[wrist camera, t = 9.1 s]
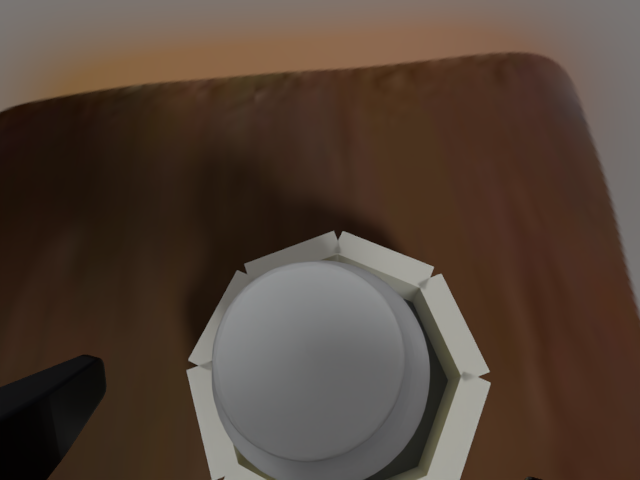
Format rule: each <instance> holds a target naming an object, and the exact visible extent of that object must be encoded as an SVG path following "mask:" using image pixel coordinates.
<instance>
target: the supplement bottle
mask: <svg viewBox="0 0 640 480" xmlns="http://www.w3.org/2000/svg"><path fill="white" fill-rule="evenodd" d="M429 382H430V363H429V355H428V350H427V346H426V342H425V338H424V335H423V332H422V330H421V327H420V325H419V323H418V321H417V319H416V317H415V316H414V314H413V312H412V311H411V309H410V308H409V306H408V305H407V303H406V302H405V301H404V299H403V298H402V297H401V296H400V295H399V294H398V293H397V292H396V291H395V290H394V289H393V288H392V287H391V286H390V285H389V284H387V283H386V282H385V281H383V280H382V279H380V278H379V277H377V276H376V275H374V274H372V273H370V272H369V271H367V270H364V269H362V268H359V267H356V266H354V265H350V264H346V263H342V262H337V261H327V260H316V261H304V262H296V263H291V264H287V265H282V266H279V267H277V268H274V269H272V270H270V271H268V272H266V273H264V274H262V275H261V276H259V277H257V278H256V279H254V280H253V281H252V282H251V283H249V284H248V285H247V286H246V287H244V288H243V289H242V290H241V292H240V293H239V294H238V295H237V296H236V297H235V299H234V300H233V301H232V303H231V304H230V305H229V306H228V308H227V310H226V312H225V313H224V315H223V317H222V320H221V322H220V324H219V327H218V329H217V332H216V336H215V339H214V344H213V350H212V391H213V397H214V402H215V405H216V409H217V412H218V415H219V418H220V421H221V423H222V425H223V427H224V429H225V431H226V433H227V435H228V436H229V438H230V439H231V441H232V442H233V444H234V445H235V447H236V448H237V449H238V450H239V452H240V453H241V454H242V455H243V456H244V457H245V458H246V459H247V460H248V461H249V462H251V463H252V464H253V465H254V466H255V467H256V468H258V469H259V470H260V471H262V472H264V473H265V474H267V475H269V476H271V477H273V478H275V479H277V480H364V479H366V478H368V477H370V476H372V475H373V474H375V473H377V472H378V471H380V470H381V469H383V468H384V467H385V466H387V465H388V464H389V463H390V462H391V461H392V460H393V459H394V458H395V457H396V456H397V455H398V454H400V452H401V451H402V450H403V449H404V448H405V446H406V445H407V444H408V442H409V441H410V439H411V438H412V436H413V435H414V433H415V431H416V429H417V427H418V425H419V423H420V421H421V418H422V416H423V413H424V410H425V406H426V402H427V397H428V392H429Z"/></svg>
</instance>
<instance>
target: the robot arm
mask: <svg viewBox="0 0 640 480" xmlns="http://www.w3.org/2000/svg"><path fill="white" fill-rule="evenodd" d="M105 392H106V377H105V368H104V362H103V361H102V359H100V358H97V357H94V356H90V355H81V356H78V357H76V358H73V359H71V360H68V361H66V362H63V363H61V364H58V365H56V366H53V367H51V368H48V369H45V370H43V371H40V372H38V373H35V374H33V375H30V376H28V377H25V378H23V379H20V380H18V381H15V382H13V383H10V384H8V385H5V386H2V387H0V480H47V478H48V477H49V476H50V474H51V473H52V472H53V471H54V469H55V468H56V467H57V465H58V464H59V463H60V462H61V460H62V459H63V457H64V456H65V454H66V453H67V452H68V450H69V449H70V447H71V446H72V444H73V443H74V441H75V440H76V438H77V437H78V435H79V434H80V432H81V431H82V429H83V427H84V426H85V424H86V423H87V421H88V420H89V418H90V417H91V415H92V414H93V412H94V411H95V409H96V408H97V406H98V405H99V403H100V402H101V400H102V399H103V397H104V395H105ZM525 480H541V479H538V478H534V477H527V478H526V479H525Z"/></svg>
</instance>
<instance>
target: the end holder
mask: <svg viewBox="0 0 640 480" xmlns="http://www.w3.org/2000/svg"><path fill="white" fill-rule="evenodd" d="M316 260H327V261H337V262H342V263H346V264H350V265H354V266H356V267H359V268H362V269H364V270H367V271H369V272H370V273H372V274H374V275H376V276H377V277H379V278H380V279H382V280H383V281H385V282H386V283H387V284H389V285H390V286H391V287H392V288H393V289H394V290H395V291H396V292H397V293H398V294H399V295H400V296H401V297H402V298H403V299H404V301H405V302H406V303H407V305H408V306H409V308H410V309H411V311H412V312H413V314H414V316H415V317H416V319H417V321H418V323H419V325H420V327H421V330H422V332H423V335H424V338H425V342H426V346H427V350H428V355H429V363H430V382H429V392H428V397H427V402H426V406H425V410H424V413H423V416H422V418H421V421H420V423H419V425H418V427H417V429H416V431H415V433H414V435H413V436H412V438H411V439H410V441H409V442H408V444H407V445H406V446H405V448H404V449H403V450H402V451H401V452H400V454H398V455H397V456H396V457H395V458H394V459H393V460H392V461H391V462H390V463H389V464H388V465H387V466H385V467H384V468H383V469H381V470H380V471H378V472H377V473H375V474H373V475H372V476H370V477H368V478H366V479H364V480H460V477H461V474H462V471H463V468H464V465H465V462H466V458H467V455H468V452H469V449H470V446H471V443H472V440H473V437H474V434H475V431H476V427H477V424H478V421H479V418H480V415H481V412H482V409H483V406H484V403H485V400H486V396H487V393H488V390H489V387H490V384H491V383H490V382H488V381H485V380H483V379H481V378H479V377H478V376H481V375H483V374H486V373H488V372H490V371H489V369H488V367H487V365H486V363H485V361H484V359H483V357H482V355H481V353H480V351H479V349H478V347H477V345H476V343H475V341H474V339H473V337H472V335H471V333H470V331H469V329H468V327H467V325H466V323H465V321H464V319H463V316H462V314H461V312H460V310H459V308H458V306H457V304H456V302H455V300H454V298H453V296H452V294H451V292H450V290H449V288H448V286H447V284H446V282H445V280H444V278H443V276H442V274H439V275H437V276H434V277H431V278H430V276H431V273H432V271H433V268H434V267H433V266H430V265H428V264H425V263H423V262H420V261H418V260H415V259H413V258H410V257H408V256H405V255H403V254H400V253H397V252H395V251H392V250H390V249H387V248H385V247H382V246H380V245H377V244H375V243H372V242H370V241H367V240H365V239H362V238H360V237H357V236H355V235H352V234H349V233H347V232H344V231H343V232H342V234H341V236H340V238H339V240H337V238H336V235H335V233H334V231H332V232H329V233H326V234H324V235H321V236H318V237H316V238H313V239H310V240H307V241H305V242H302V243H299V244H297V245H294V246H291V247H288V248H286V249H283V250H280V251H278V252H275V253H272V254H270V255H267V256H264V257H261V258H259V259H256V260H253V261H251V262H248V263H245V264H244V265H245V268H246V271H247V274H245V273H243V272H240V271H238V270H237V271H236V273H235V275H234V277H233V278H232V280H231V282H230V284H229V286H228V288H227V289H226V291H225V293H224V295H223V297H222V299H221V300H220V302H219V304H218V306H217V308H216V310H215V311H214V313H213V315H212V317H211V319H210V321H209V322H208V324H207V326H206V328H205V330H204V332H203V333H202V335H201V337H200V339H199V341H198V343H197V345H196V346H195V348H194V350H193V352H192V354H191V356H190V357H189V359H188V360H189V361H191V362H193V363H194V364H196V365H198V366H197V367H194V368H192V369H189V370H186V371H187V375H188V379H189V384H190V388H191V392H192V396H193V401H194V405H195V409H196V414H197V418H198V422H199V426H200V431H201V435H202V439H203V444H204V448H205V452H206V457H207V461H208V465H209V469H210V474H211V478H212V480H216V479H219V478H221V477H224V476H225V478H224V480H277V479H275V478H273V477H271V476H269V475H267V474H265V473H264V472H262V471H260V470H259V469H258V468H256V467H255V466H254V465H253V464H252V463H251V462H249V461H248V460H247V459H246V458H245V457H244V456H243V455H242V454H241V453H240V452H239V450H238V449H237V448H236V447H235V445H234V444H233V442H232V441H231V439H230V438H229V436H228V435H227V433H226V431H225V429H224V427H223V425H222V423H221V421H220V418H219V415H218V412H217V409H216V405H215V402H214V397H213V391H212V350H213V344H214V339H215V336H216V332H217V329H218V327H219V324H220V322H221V320H222V317H223V315H224V313H225V312H226V310H227V308H228V306H229V305H230V304H231V303H232V301H233V300H234V299H235V297H236V296H237V295H238V294H239V293H240V292H241V290H242V289H243V288H244V287H246V286H247V285H248V284H249V283H251V282H252V281H253V280H254V279H256V278H257V277H259V276H261V275H262V274H264V273H266V272H268V271H270V270H272V269H274V268H277V267H279V266H282V265H287V264H291V263H296V262H304V261H316Z"/></svg>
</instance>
